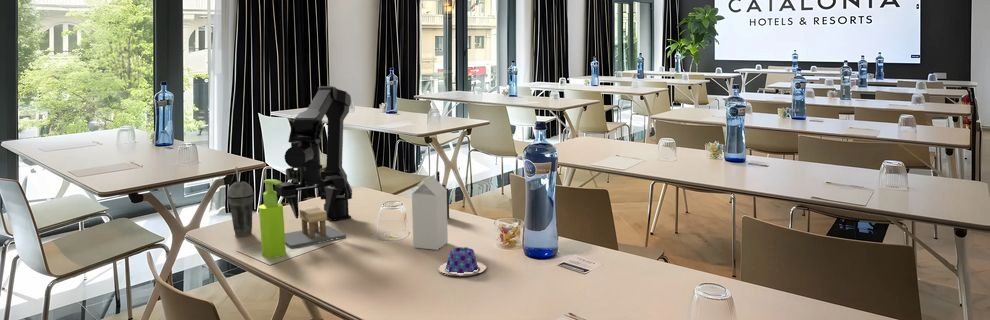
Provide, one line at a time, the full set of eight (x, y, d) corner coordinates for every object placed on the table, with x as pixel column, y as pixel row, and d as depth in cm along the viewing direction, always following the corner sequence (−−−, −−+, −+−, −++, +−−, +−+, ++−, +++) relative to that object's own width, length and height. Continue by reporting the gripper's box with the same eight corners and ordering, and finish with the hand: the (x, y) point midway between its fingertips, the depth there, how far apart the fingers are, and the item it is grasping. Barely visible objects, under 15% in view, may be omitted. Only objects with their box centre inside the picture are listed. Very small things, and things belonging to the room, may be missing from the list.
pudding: (437, 263, 176) (436, 243, 175) (484, 261, 177) (484, 241, 176) (438, 280, 164) (437, 259, 163) (488, 278, 165) (488, 257, 164)
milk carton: (447, 242, 191) (446, 175, 188) (437, 250, 185) (435, 180, 181) (424, 240, 194) (422, 173, 190) (413, 248, 187) (411, 178, 183)
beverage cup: (261, 231, 203) (256, 163, 200) (250, 238, 196) (244, 169, 193) (237, 230, 204) (231, 163, 200) (225, 237, 197) (219, 168, 193)
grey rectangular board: (328, 228, 206) (328, 225, 206) (346, 237, 197) (345, 234, 197) (275, 237, 197) (275, 235, 197) (291, 248, 187) (290, 245, 187)
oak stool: (327, 235, 196) (326, 211, 195) (310, 238, 193) (309, 214, 192) (317, 229, 202) (316, 206, 200) (300, 233, 199) (299, 209, 197)
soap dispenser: (275, 259, 178) (270, 183, 174) (257, 255, 182) (252, 180, 178) (293, 253, 183) (288, 179, 179) (275, 249, 187) (270, 176, 183)
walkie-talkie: (442, 215, 219) (441, 169, 216) (450, 217, 217) (449, 170, 214) (432, 219, 215) (431, 171, 212) (440, 221, 213) (439, 173, 210)
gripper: (329, 153, 205) (331, 204, 208) (266, 160, 194) (269, 215, 197) (345, 158, 196) (348, 212, 199) (280, 166, 185) (284, 223, 188)
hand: (312, 215), depth 196 cm, fingers open, 9 cm apart
